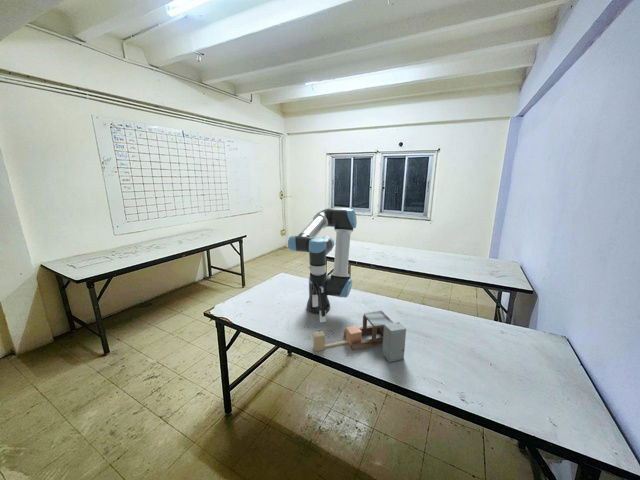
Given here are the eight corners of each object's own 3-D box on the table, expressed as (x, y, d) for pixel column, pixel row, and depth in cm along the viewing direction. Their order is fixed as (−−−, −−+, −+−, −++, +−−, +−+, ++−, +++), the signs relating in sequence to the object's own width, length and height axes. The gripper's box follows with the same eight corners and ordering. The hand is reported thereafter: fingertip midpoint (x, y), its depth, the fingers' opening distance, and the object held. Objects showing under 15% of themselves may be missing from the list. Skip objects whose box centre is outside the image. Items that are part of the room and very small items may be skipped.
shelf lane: (343, 335, 134) (344, 316, 131) (380, 328, 140) (381, 310, 137) (352, 350, 123) (353, 330, 120) (392, 342, 128) (393, 322, 125)
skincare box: (388, 362, 114) (390, 332, 110) (380, 352, 121) (382, 323, 117) (405, 359, 116) (407, 329, 112) (396, 349, 123) (398, 320, 119)
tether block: (312, 345, 127) (312, 331, 125) (356, 336, 133) (356, 323, 131) (315, 353, 121) (315, 338, 119) (361, 343, 127) (361, 330, 125)
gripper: (304, 263, 125) (305, 302, 131) (317, 285, 102) (318, 330, 108) (318, 262, 127) (319, 300, 133) (334, 282, 104) (334, 327, 109)
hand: (318, 313), depth 120 cm, fingers open, 13 cm apart
